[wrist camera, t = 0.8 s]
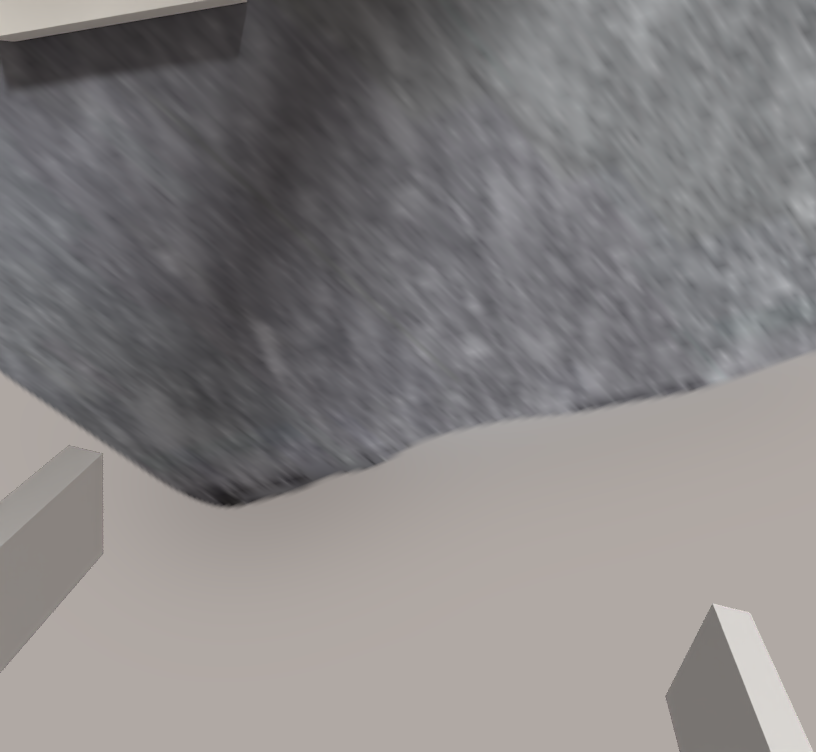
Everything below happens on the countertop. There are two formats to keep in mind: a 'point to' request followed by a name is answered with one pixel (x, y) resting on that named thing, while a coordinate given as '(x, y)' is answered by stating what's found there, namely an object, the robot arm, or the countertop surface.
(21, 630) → the robot arm
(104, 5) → the socket plate
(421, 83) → the countertop surface
